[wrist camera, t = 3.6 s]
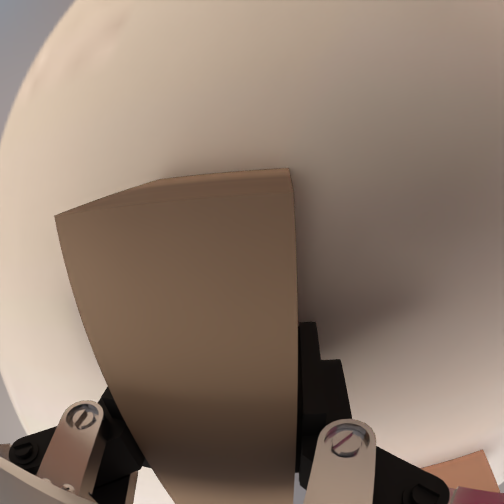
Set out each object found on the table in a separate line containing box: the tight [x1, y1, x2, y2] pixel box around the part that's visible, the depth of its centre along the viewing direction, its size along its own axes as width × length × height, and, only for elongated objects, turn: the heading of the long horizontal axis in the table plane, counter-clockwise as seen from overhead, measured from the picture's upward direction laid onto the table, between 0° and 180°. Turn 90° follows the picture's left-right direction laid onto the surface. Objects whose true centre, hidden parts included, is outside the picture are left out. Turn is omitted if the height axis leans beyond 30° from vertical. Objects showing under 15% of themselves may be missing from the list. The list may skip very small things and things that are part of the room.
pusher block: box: [55, 168, 298, 504], centre depth 9 cm, size 12×4×5 cm, turn 4°
